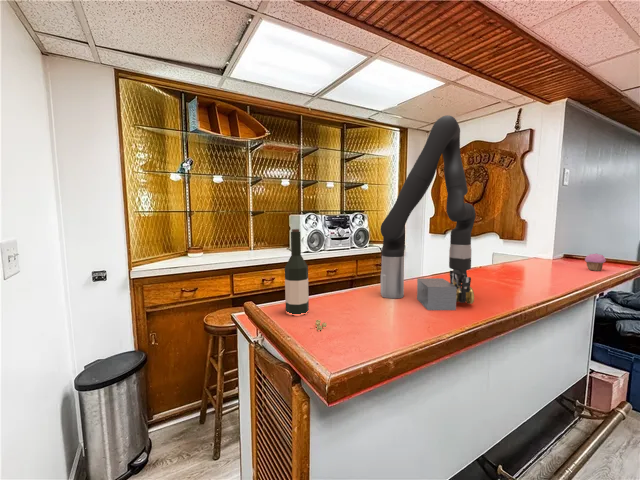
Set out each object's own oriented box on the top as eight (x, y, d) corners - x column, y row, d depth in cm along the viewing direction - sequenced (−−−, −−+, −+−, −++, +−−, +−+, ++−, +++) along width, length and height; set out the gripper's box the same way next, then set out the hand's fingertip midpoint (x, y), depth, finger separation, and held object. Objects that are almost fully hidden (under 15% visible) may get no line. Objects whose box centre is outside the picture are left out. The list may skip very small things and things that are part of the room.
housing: (427, 310, 107) (428, 286, 107) (417, 299, 121) (417, 278, 120) (455, 310, 107) (456, 286, 106) (442, 299, 121) (442, 278, 120)
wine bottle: (300, 318, 101) (298, 230, 99) (280, 314, 105) (278, 229, 103) (313, 311, 108) (312, 228, 106) (295, 307, 113) (293, 228, 110)
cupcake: (608, 271, 170) (609, 254, 170) (598, 272, 168) (599, 254, 167) (590, 268, 179) (591, 252, 178) (580, 269, 177) (581, 253, 176)
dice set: (318, 325, 96) (318, 319, 96) (330, 329, 93) (330, 323, 93) (307, 329, 92) (307, 323, 92) (319, 334, 89) (319, 327, 89)
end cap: (438, 305, 111) (438, 289, 110) (432, 300, 117) (432, 285, 117) (473, 306, 110) (474, 289, 109) (466, 300, 116) (466, 284, 116)
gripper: (443, 253, 119) (442, 295, 121) (457, 259, 105) (456, 306, 106) (462, 253, 119) (461, 295, 120) (479, 258, 105) (478, 306, 106)
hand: (459, 300), depth 113 cm, fingers closed on end cap, 5 cm apart
